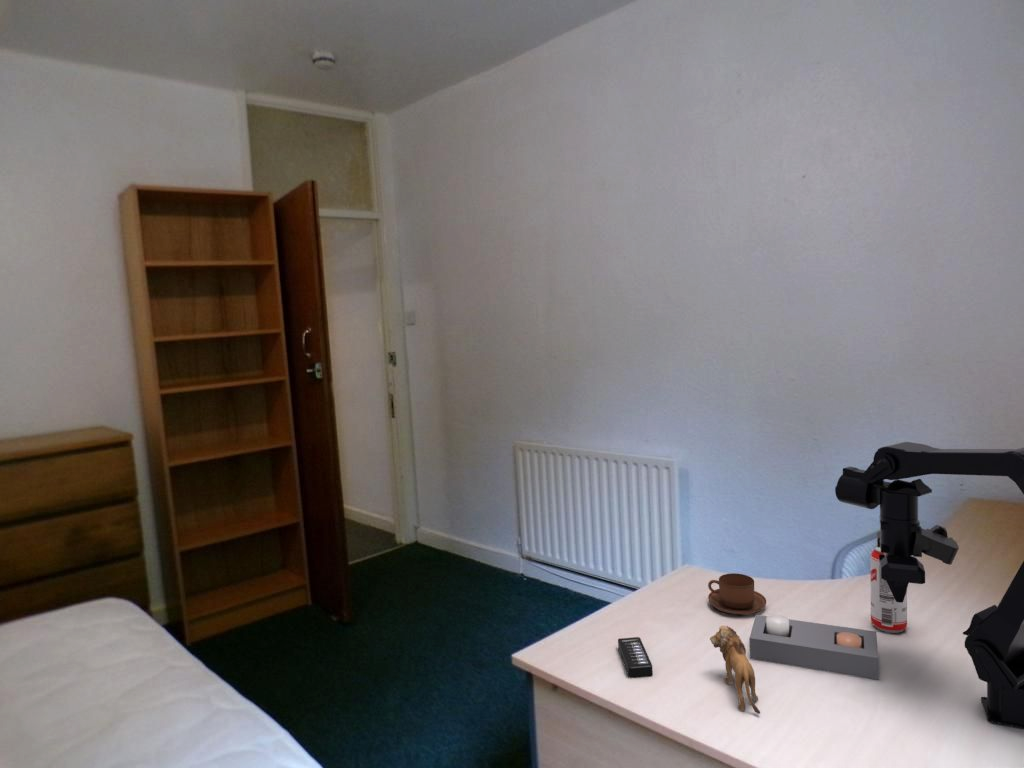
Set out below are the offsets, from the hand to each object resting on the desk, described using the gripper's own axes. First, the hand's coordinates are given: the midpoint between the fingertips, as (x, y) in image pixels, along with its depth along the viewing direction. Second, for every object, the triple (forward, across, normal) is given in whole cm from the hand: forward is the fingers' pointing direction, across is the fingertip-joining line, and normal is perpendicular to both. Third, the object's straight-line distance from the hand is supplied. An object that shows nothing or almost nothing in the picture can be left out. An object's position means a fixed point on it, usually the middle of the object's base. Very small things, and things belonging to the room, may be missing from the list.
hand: (899, 601), depth 115 cm
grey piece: (+10, -1, +20) cm, 22 cm away
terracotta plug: (+11, -1, +8) cm, 14 cm away
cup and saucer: (+12, +15, +30) cm, 36 cm away
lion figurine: (+12, -17, +25) cm, 33 cm away
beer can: (+12, +15, +1) cm, 19 cm away
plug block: (+12, -1, +14) cm, 18 cm away
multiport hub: (+13, -14, +44) cm, 48 cm away
